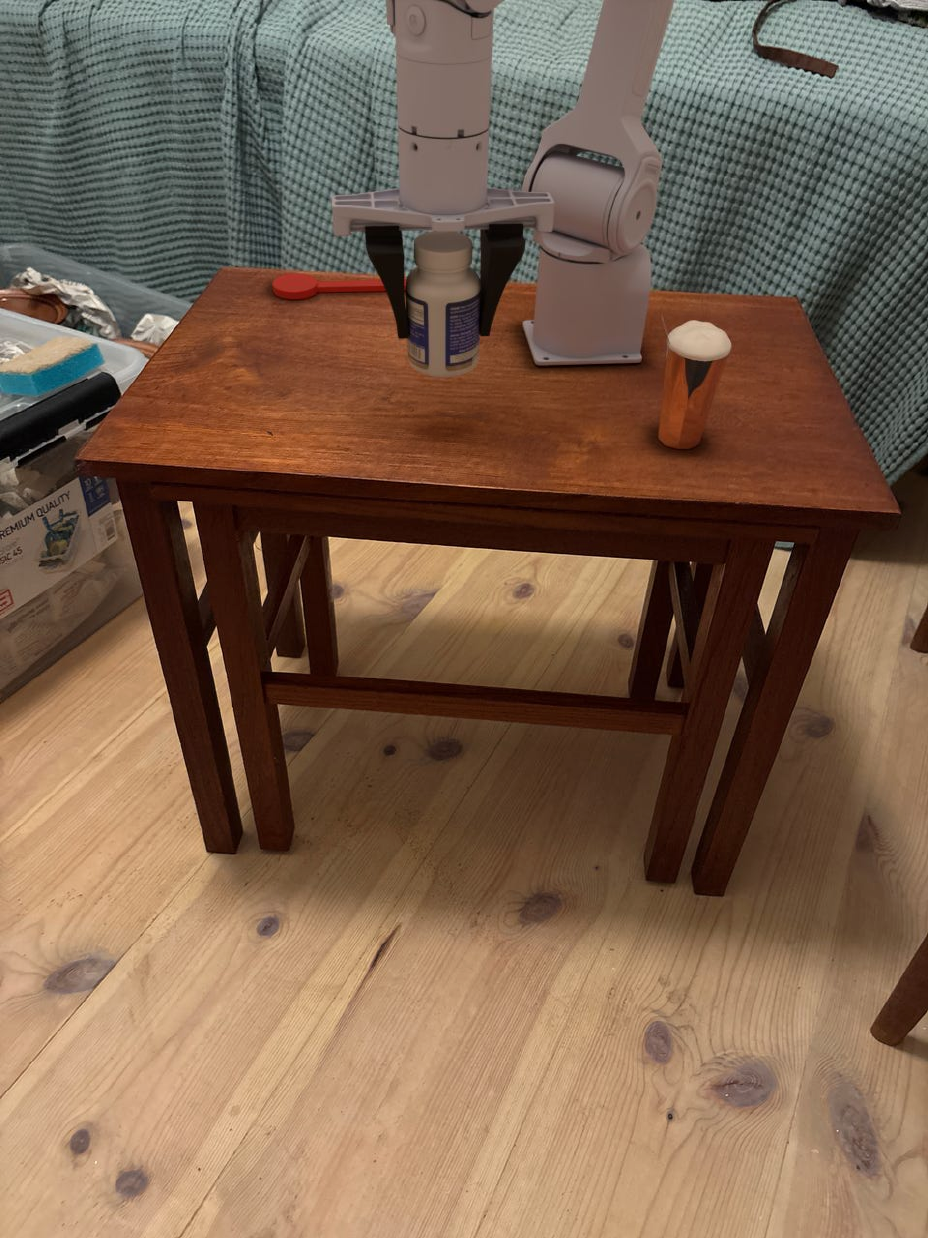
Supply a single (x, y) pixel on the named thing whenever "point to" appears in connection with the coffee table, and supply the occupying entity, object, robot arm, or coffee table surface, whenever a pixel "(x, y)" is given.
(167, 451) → the coffee table surface
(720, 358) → the milkshake
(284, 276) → the red spoon
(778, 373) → the coffee table surface
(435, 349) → the pill bottle
